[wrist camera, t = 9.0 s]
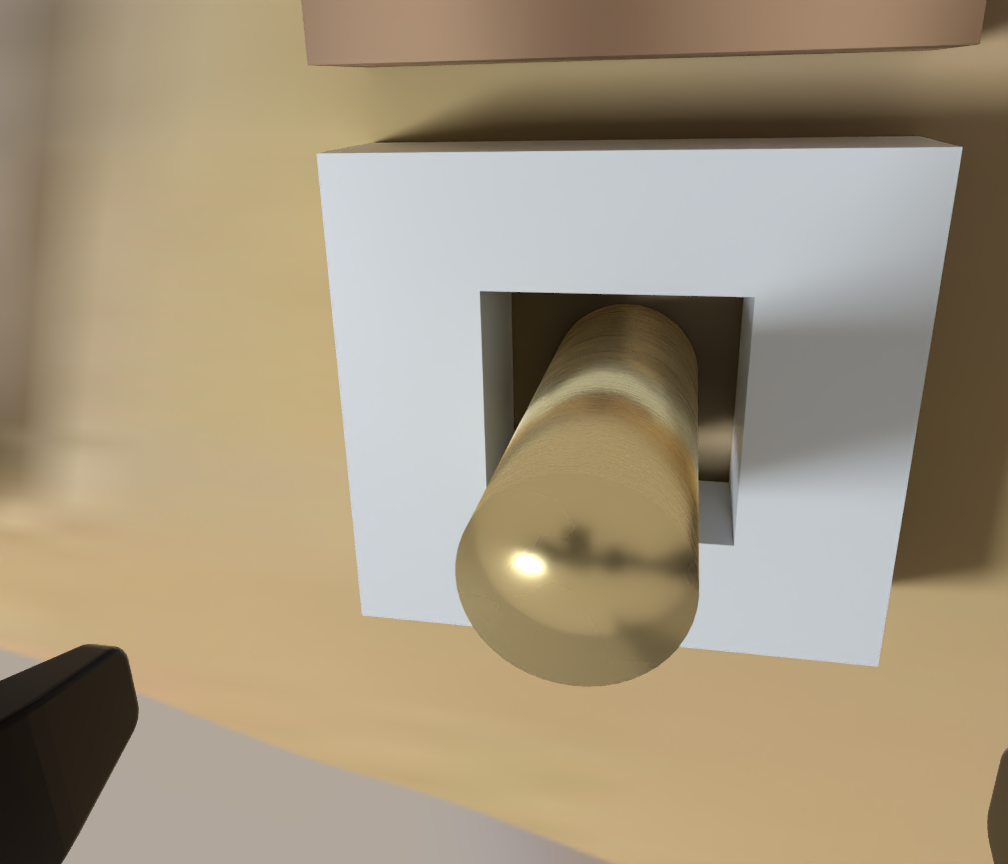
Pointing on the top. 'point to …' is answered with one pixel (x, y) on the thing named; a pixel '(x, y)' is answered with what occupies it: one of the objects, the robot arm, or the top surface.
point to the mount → (624, 29)
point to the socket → (648, 271)
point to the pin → (594, 509)
